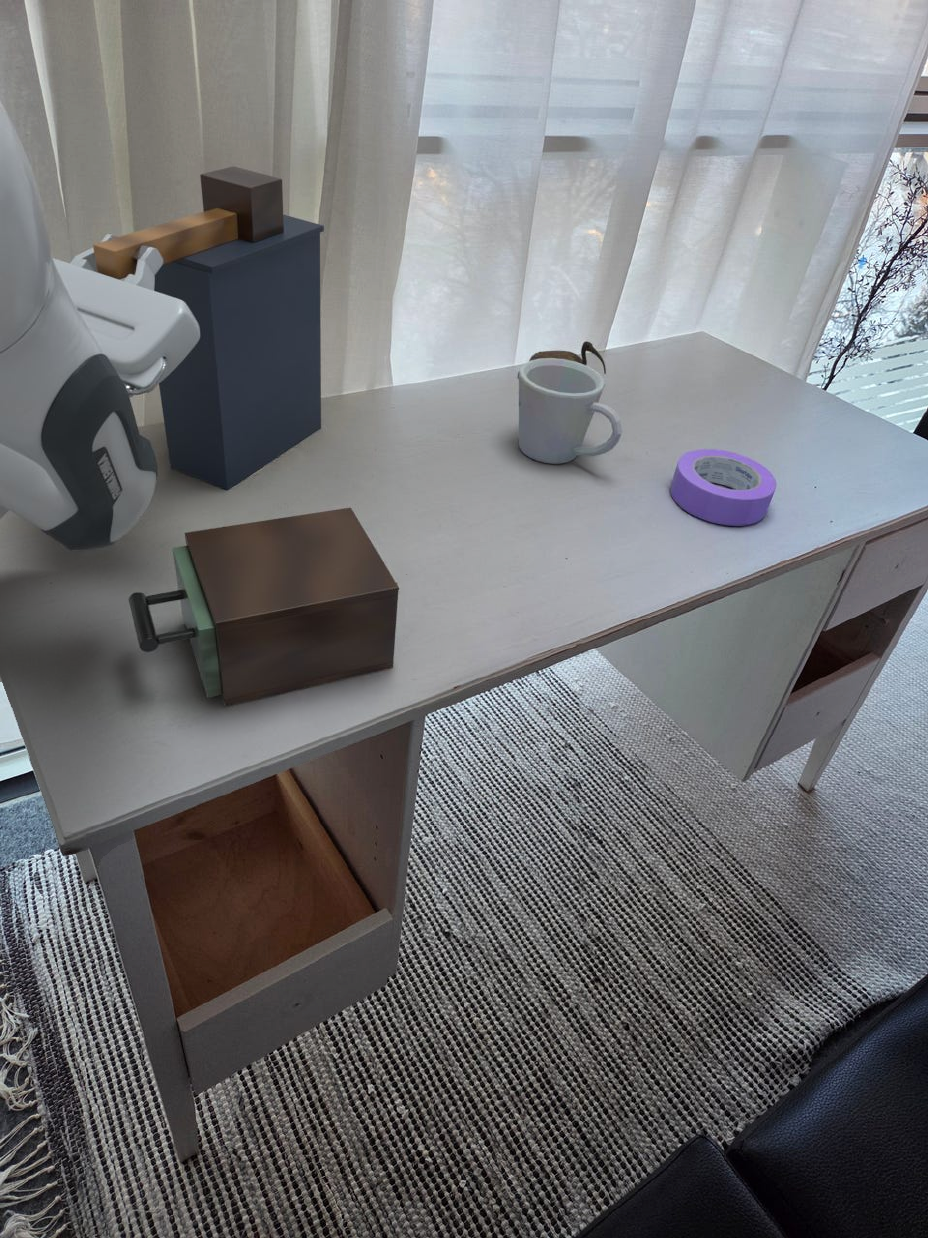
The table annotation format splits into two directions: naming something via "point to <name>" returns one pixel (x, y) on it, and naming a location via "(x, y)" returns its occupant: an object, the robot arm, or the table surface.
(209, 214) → the mallet
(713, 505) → the tape roll
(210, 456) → the stand
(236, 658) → the cabinet
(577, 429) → the mug
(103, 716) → the table surface
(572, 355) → the figurine
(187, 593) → the drawer
